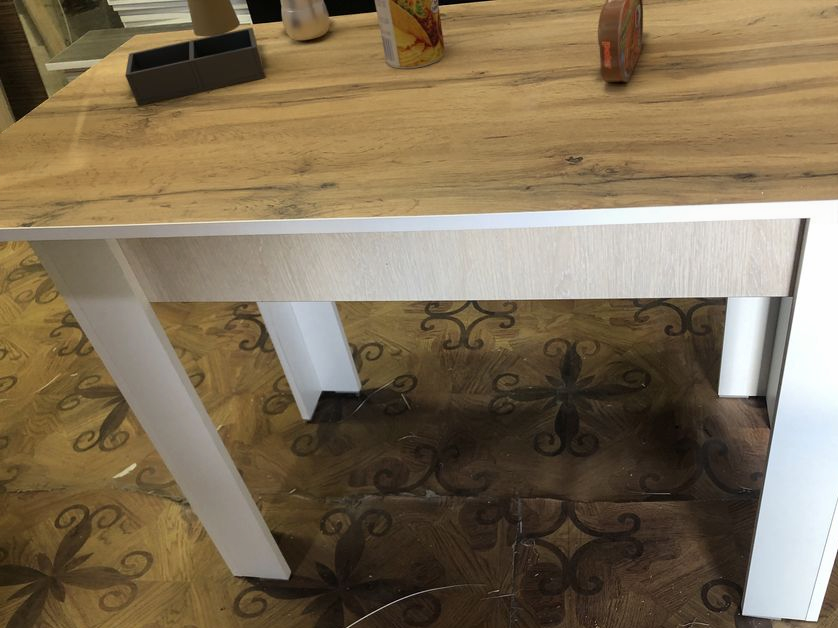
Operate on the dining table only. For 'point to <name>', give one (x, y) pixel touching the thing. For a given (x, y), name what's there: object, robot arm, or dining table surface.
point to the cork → (212, 17)
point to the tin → (620, 38)
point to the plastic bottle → (305, 18)
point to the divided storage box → (194, 66)
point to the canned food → (410, 32)
